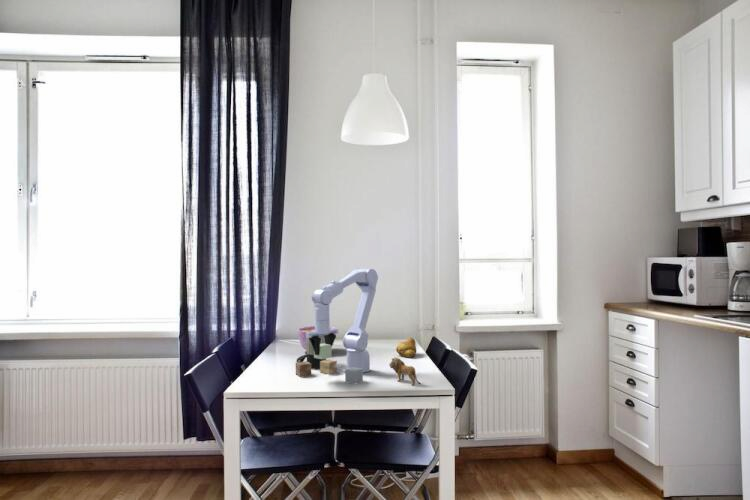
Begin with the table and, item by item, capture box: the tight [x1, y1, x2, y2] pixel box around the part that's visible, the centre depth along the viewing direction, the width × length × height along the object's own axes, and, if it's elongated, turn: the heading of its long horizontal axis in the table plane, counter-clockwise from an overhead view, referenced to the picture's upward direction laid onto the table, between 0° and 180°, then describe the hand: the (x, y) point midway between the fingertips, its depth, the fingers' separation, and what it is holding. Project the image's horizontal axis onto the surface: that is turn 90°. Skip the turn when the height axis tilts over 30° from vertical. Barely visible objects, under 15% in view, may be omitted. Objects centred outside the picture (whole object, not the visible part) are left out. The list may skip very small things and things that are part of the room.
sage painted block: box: [314, 343, 333, 360], centre depth 208 cm, size 5×5×5 cm
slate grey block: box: [344, 367, 364, 384], centre depth 204 cm, size 5×5×5 cm
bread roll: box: [395, 337, 417, 358], centre depth 252 cm, size 13×10×8 cm
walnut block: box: [295, 360, 312, 378], centre depth 216 cm, size 5×5×5 cm
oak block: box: [319, 358, 338, 375], centre depth 220 cm, size 5×5×5 cm
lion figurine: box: [388, 357, 422, 387], centre depth 203 cm, size 15×5×9 cm, turn 48°
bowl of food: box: [297, 325, 338, 351], centre depth 264 cm, size 20×20×12 cm
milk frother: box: [295, 335, 327, 370], centre depth 234 cm, size 14×16×15 cm
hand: (322, 353), depth 208 cm, fingers closed on sage painted block, 5 cm apart
